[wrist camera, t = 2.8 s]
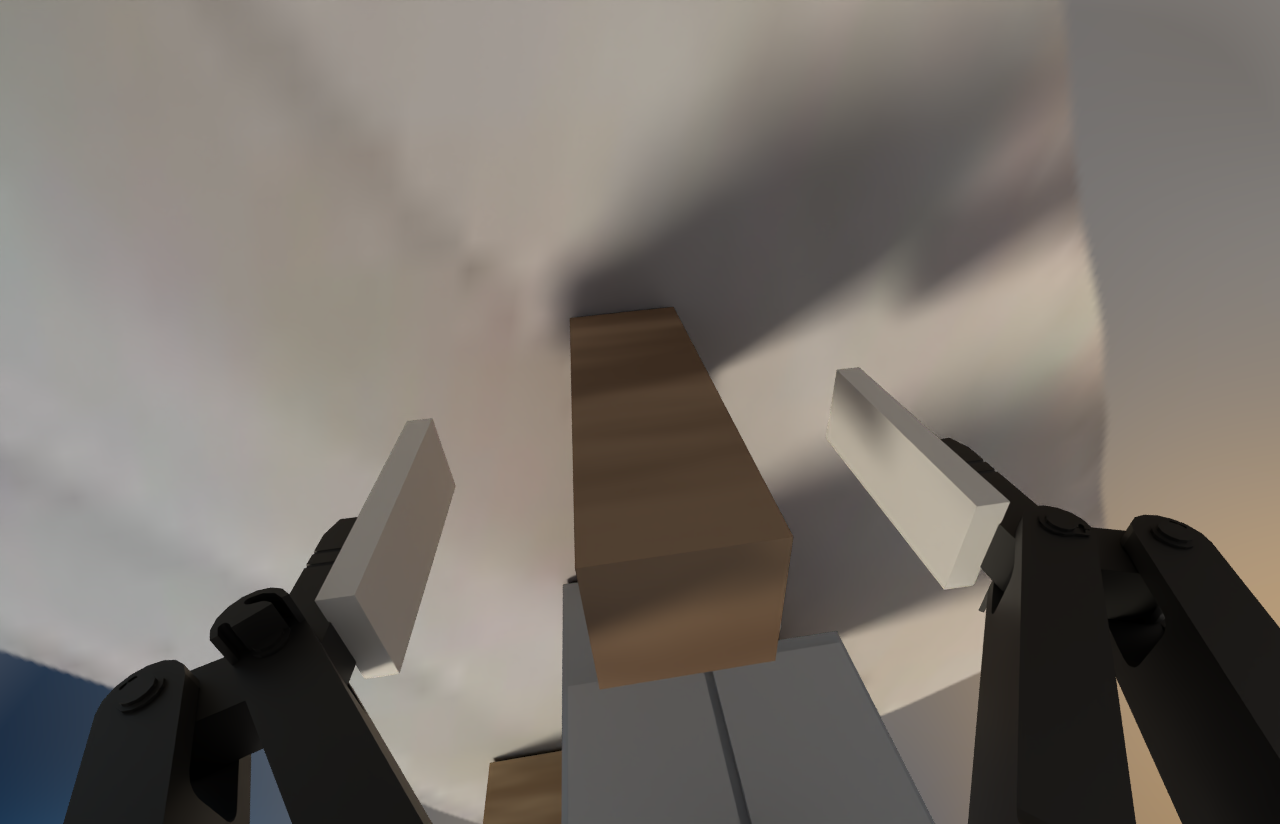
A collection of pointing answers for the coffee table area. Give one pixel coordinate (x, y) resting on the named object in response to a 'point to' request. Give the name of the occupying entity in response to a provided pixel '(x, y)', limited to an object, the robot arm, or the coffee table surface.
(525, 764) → the stand
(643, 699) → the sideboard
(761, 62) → the coffee table surface
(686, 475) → the wooden block
